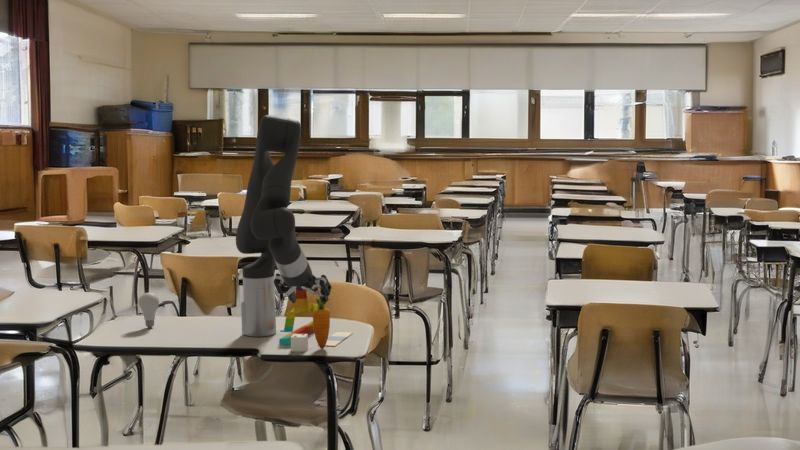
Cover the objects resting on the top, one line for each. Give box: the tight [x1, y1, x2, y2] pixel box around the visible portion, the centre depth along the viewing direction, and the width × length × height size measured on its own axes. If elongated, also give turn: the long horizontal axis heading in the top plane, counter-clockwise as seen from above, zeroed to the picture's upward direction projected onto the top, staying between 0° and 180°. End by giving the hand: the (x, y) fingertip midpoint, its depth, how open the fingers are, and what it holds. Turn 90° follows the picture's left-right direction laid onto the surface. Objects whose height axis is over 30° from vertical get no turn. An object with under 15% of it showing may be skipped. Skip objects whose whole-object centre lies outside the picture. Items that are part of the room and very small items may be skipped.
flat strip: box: [317, 331, 354, 347], centre depth 268 cm, size 5×16×1 cm, turn 165°
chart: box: [278, 289, 329, 346], centre depth 277 cm, size 30×3×15 cm, turn 163°
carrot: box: [312, 296, 331, 350], centre depth 256 cm, size 5×5×15 cm
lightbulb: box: [138, 292, 160, 329], centre depth 287 cm, size 6×6×11 cm
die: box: [290, 334, 309, 352], centre depth 257 cm, size 4×4×4 cm
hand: (309, 300), depth 247 cm, fingers open, 8 cm apart
